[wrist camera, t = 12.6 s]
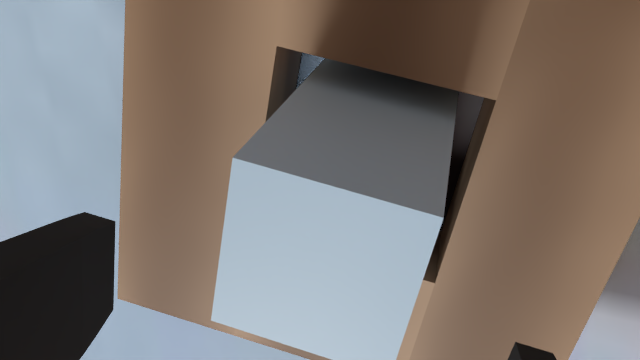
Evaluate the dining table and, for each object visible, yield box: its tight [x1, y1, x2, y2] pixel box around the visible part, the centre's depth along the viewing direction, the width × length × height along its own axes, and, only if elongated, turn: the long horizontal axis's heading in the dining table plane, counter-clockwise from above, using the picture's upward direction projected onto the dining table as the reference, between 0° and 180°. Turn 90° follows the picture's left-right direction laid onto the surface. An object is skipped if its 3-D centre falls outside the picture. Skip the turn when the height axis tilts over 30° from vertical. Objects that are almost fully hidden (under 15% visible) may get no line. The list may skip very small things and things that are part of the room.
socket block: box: [118, 0, 640, 360], centre depth 18 cm, size 14×14×3 cm
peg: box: [211, 58, 459, 360], centre depth 15 cm, size 4×4×8 cm
